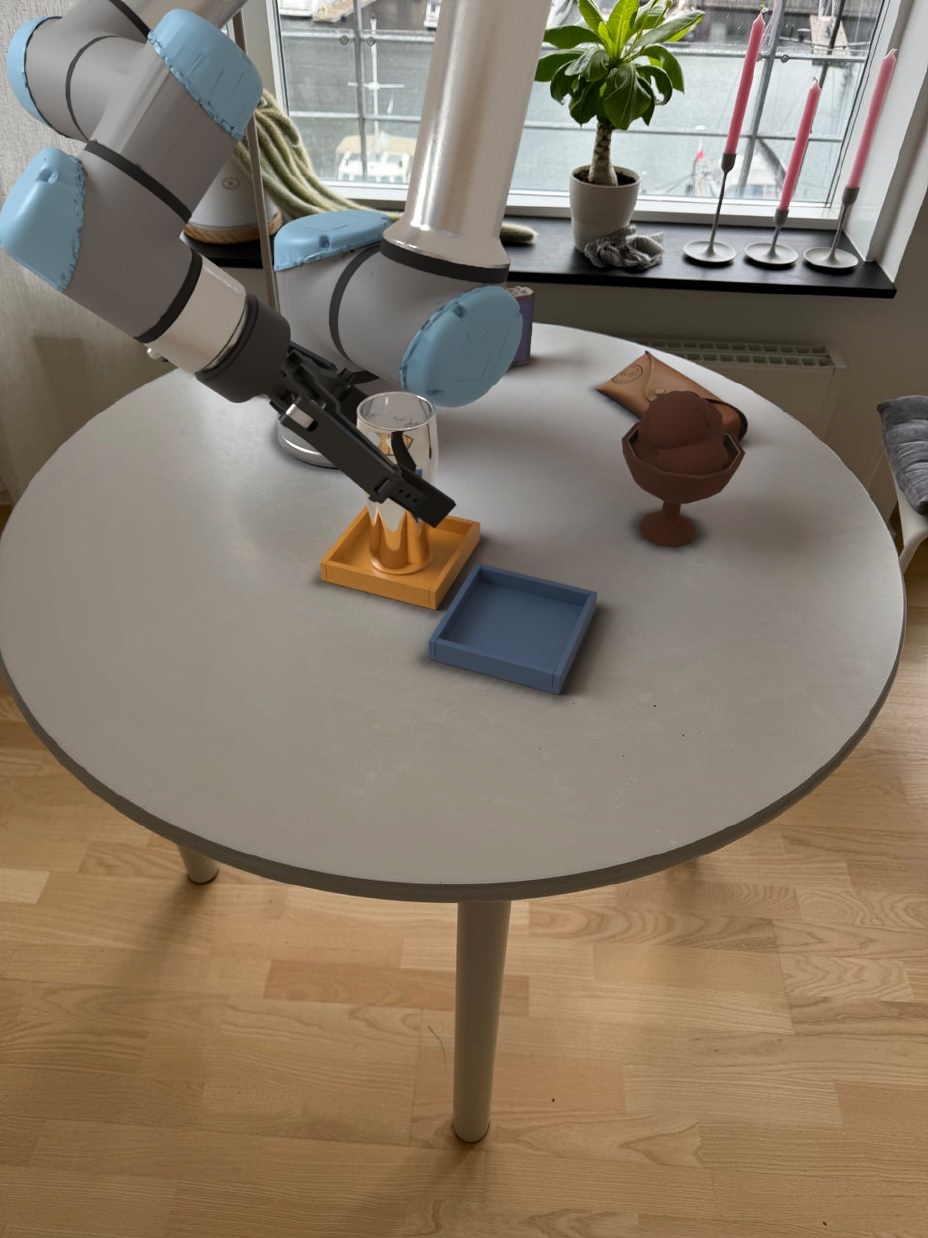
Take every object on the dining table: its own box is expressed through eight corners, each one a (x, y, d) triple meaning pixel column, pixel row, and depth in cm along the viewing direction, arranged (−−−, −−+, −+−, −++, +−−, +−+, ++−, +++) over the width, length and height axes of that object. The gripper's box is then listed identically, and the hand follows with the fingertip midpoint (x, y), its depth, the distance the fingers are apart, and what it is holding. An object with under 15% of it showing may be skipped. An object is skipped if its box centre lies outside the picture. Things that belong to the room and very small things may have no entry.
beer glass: (363, 534, 92) (353, 390, 82) (436, 531, 92) (435, 388, 82) (363, 579, 86) (353, 432, 77) (440, 576, 87) (441, 429, 77)
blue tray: (428, 659, 80) (428, 640, 78) (475, 580, 88) (476, 562, 86) (558, 695, 77) (560, 676, 75) (595, 610, 85) (597, 592, 83)
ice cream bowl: (725, 570, 89) (760, 427, 80) (605, 554, 91) (624, 412, 81) (725, 507, 97) (757, 369, 87) (614, 493, 99) (633, 356, 89)
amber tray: (321, 580, 87) (319, 562, 86) (373, 514, 95) (372, 497, 94) (435, 610, 84) (435, 591, 83) (479, 540, 92) (480, 522, 91)
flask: (471, 378, 118) (473, 291, 111) (459, 368, 119) (460, 283, 112) (534, 361, 121) (540, 277, 114) (522, 352, 123) (527, 269, 116)
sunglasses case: (589, 386, 115) (617, 335, 113) (625, 401, 120) (653, 352, 117) (689, 456, 104) (723, 400, 101) (725, 470, 108) (758, 417, 106)
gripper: (166, 306, 80) (352, 434, 94) (216, 456, 63) (436, 586, 77) (221, 234, 78) (403, 376, 92) (288, 368, 61) (500, 519, 75)
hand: (418, 472), depth 84 cm, fingers open, 13 cm apart
